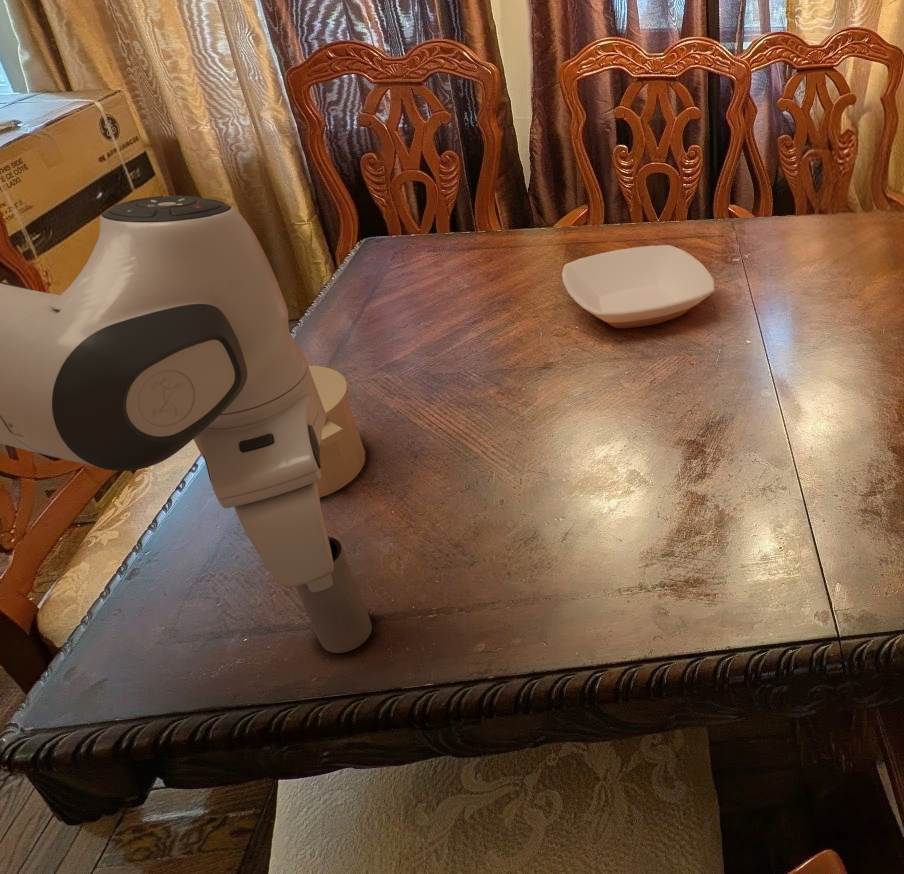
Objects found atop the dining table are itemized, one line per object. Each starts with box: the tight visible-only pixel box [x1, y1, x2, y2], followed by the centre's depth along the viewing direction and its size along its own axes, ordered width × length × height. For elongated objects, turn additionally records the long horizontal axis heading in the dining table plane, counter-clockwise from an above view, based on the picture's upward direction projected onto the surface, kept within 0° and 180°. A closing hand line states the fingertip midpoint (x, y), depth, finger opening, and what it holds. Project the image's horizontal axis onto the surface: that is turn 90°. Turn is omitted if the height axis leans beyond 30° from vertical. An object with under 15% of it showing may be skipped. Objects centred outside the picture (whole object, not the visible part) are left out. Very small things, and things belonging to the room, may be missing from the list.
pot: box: [317, 395, 366, 499], centre depth 91 cm, size 12×18×10 cm
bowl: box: [561, 244, 716, 329], centre depth 122 cm, size 22×22×5 cm
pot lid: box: [308, 364, 349, 417], centre depth 87 cm, size 13×13×4 cm
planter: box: [294, 535, 373, 654], centre depth 70 cm, size 4×4×10 cm
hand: (314, 547), depth 67 cm, fingers open, 8 cm apart
